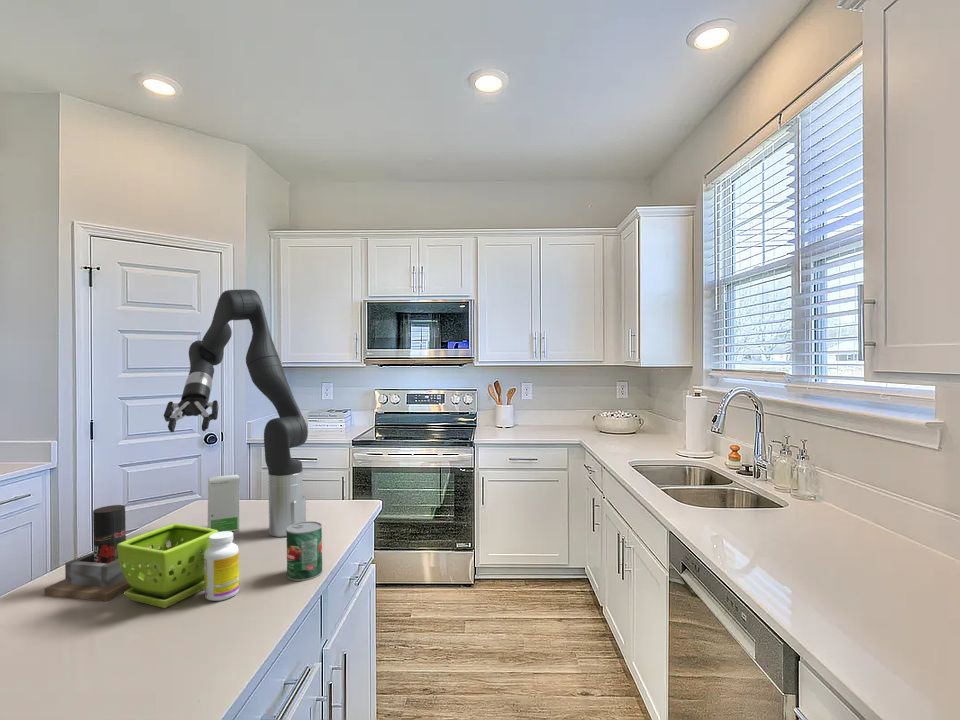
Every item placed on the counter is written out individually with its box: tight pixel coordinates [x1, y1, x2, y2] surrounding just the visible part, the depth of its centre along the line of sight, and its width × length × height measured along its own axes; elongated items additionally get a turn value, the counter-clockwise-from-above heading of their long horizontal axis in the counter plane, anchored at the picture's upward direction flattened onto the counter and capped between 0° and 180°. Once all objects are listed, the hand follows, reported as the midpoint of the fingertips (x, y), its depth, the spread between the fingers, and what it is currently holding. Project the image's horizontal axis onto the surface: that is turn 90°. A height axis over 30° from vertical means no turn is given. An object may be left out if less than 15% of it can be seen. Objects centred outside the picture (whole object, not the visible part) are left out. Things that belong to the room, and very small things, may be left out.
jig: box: [44, 544, 171, 602], centre depth 119 cm, size 16×22×6 cm
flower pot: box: [117, 523, 218, 609], centre depth 109 cm, size 14×14×13 cm
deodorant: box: [92, 504, 127, 564], centre depth 116 cm, size 6×6×15 cm
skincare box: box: [207, 474, 241, 532], centre depth 150 cm, size 8×7×16 cm
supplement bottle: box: [204, 531, 240, 602], centre depth 109 cm, size 7×7×13 cm
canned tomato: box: [285, 520, 324, 582], centre depth 119 cm, size 8×8×11 cm
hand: (187, 430), depth 152 cm, fingers open, 8 cm apart
